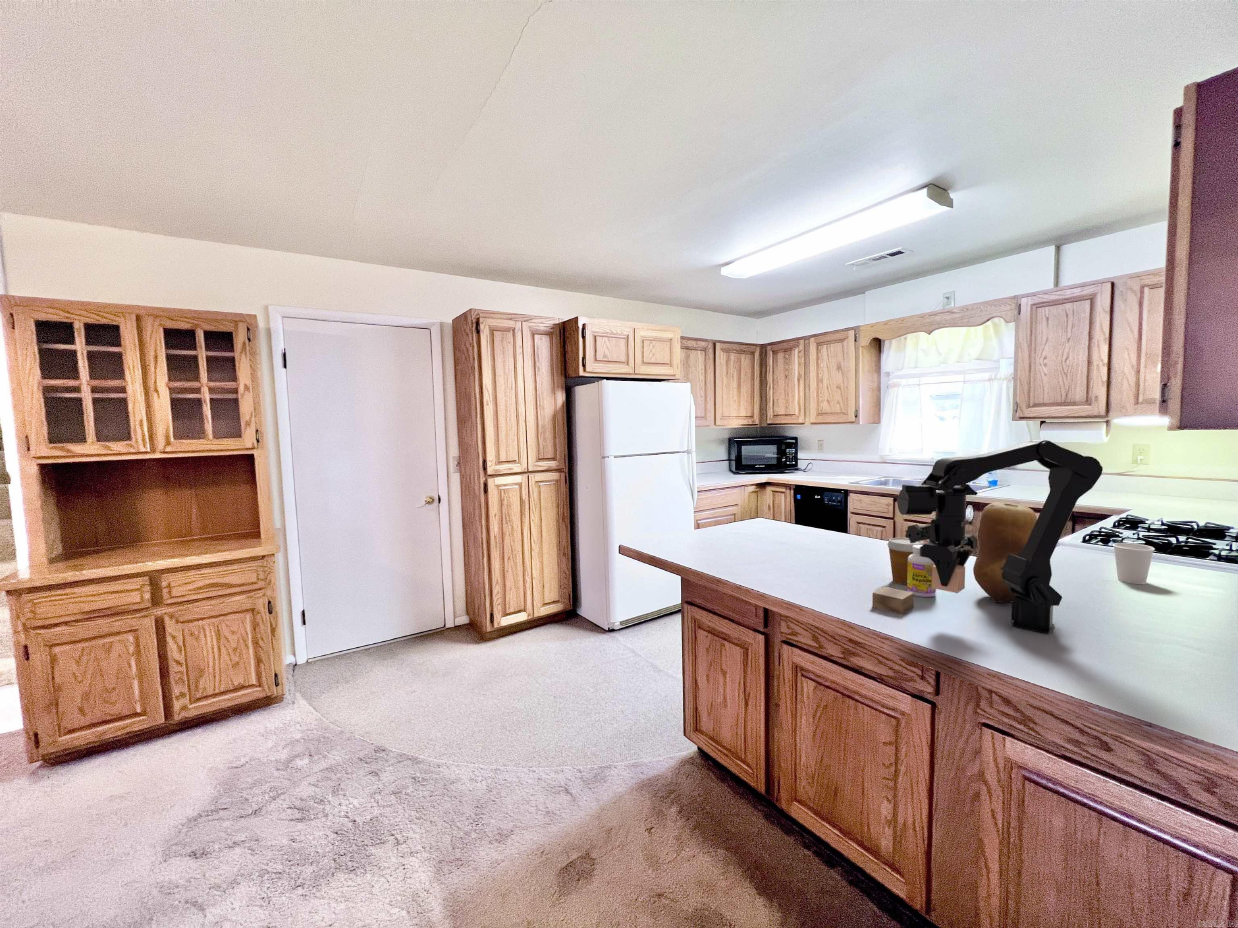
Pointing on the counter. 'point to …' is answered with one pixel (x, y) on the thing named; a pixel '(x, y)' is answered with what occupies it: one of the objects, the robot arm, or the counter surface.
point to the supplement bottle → (920, 574)
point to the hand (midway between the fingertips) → (948, 583)
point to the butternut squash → (1000, 545)
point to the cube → (955, 583)
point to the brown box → (893, 600)
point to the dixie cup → (1132, 562)
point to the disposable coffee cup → (900, 558)
